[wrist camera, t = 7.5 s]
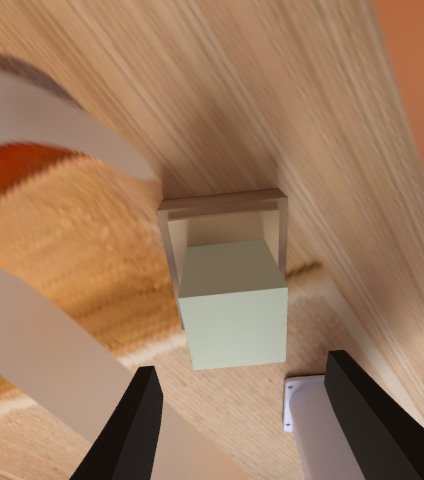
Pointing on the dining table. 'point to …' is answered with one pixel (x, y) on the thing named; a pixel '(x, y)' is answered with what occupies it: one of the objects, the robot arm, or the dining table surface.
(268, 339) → the sage block
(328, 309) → the dining table surface
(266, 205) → the plinth
